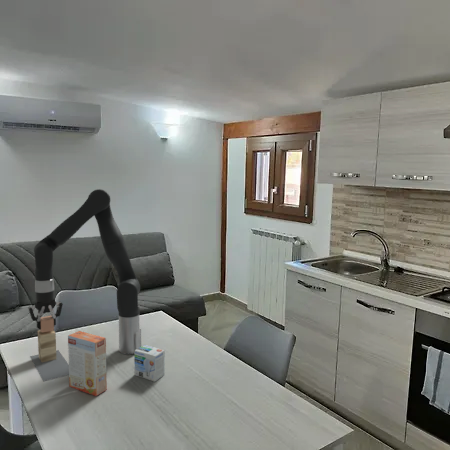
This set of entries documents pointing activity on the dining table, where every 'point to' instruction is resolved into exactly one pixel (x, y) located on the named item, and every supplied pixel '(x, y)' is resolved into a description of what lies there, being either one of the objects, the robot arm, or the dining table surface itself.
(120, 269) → the robot arm
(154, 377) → the light bulb box
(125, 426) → the dining table surface
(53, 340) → the tower mid
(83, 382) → the cracker box
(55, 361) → the rubber mat
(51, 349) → the tower base
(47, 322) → the terracotta cube
